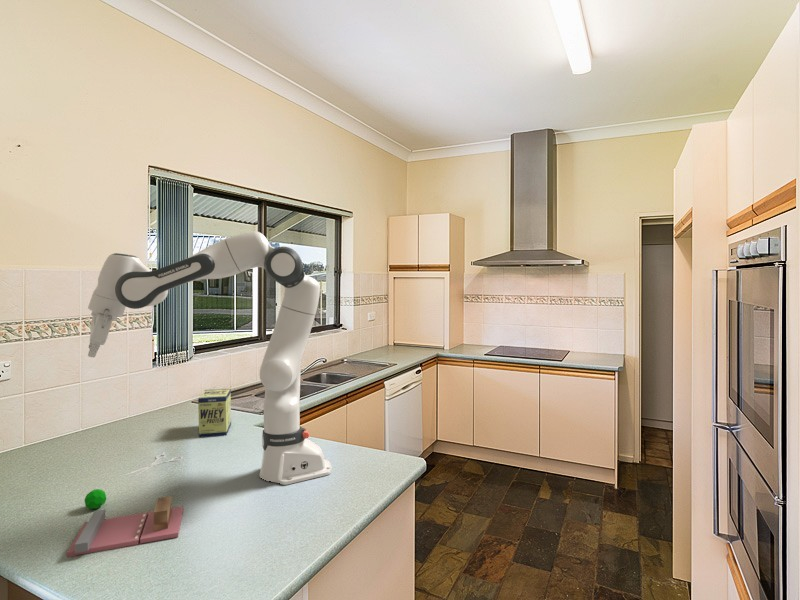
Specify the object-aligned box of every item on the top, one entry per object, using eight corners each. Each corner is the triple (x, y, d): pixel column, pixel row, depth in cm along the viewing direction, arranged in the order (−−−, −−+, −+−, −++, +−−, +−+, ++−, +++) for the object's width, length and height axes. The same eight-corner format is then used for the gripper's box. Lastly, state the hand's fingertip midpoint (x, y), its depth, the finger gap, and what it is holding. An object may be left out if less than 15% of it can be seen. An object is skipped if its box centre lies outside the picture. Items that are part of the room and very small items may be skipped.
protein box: (198, 437, 182) (197, 398, 181) (205, 425, 197) (204, 389, 196) (226, 435, 184) (226, 396, 183) (231, 423, 199) (230, 387, 199)
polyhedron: (102, 501, 130) (102, 484, 129) (109, 507, 126) (108, 489, 126) (82, 508, 126) (81, 491, 125) (88, 514, 123) (87, 496, 122)
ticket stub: (183, 509, 124) (182, 489, 124) (178, 536, 111) (177, 514, 111) (149, 515, 122) (149, 494, 121) (140, 543, 109) (139, 520, 108)
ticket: (148, 514, 123) (148, 502, 122) (137, 546, 108) (137, 533, 107) (86, 523, 118) (85, 512, 118) (65, 559, 103) (65, 546, 103)
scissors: (187, 455, 163) (138, 478, 144) (187, 457, 163) (138, 480, 144) (163, 452, 166) (113, 473, 147) (164, 454, 166) (113, 476, 147)
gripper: (120, 315, 127) (104, 363, 127) (118, 304, 144) (103, 347, 144) (94, 309, 124) (77, 359, 123) (94, 298, 141) (79, 342, 140)
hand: (91, 352), depth 134 cm, fingers open, 8 cm apart
